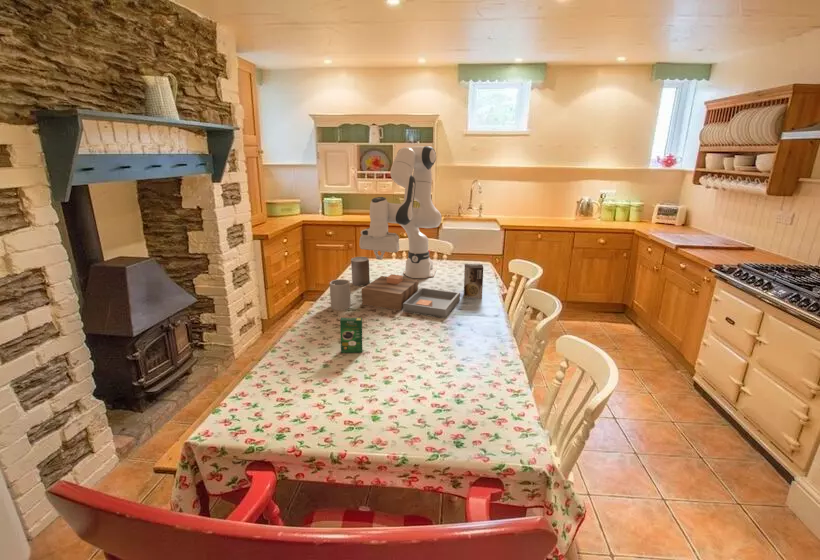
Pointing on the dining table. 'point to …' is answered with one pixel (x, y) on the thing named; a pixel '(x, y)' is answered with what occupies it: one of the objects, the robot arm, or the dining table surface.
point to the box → (440, 302)
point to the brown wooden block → (388, 293)
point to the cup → (340, 294)
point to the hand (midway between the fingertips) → (379, 259)
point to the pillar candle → (360, 271)
